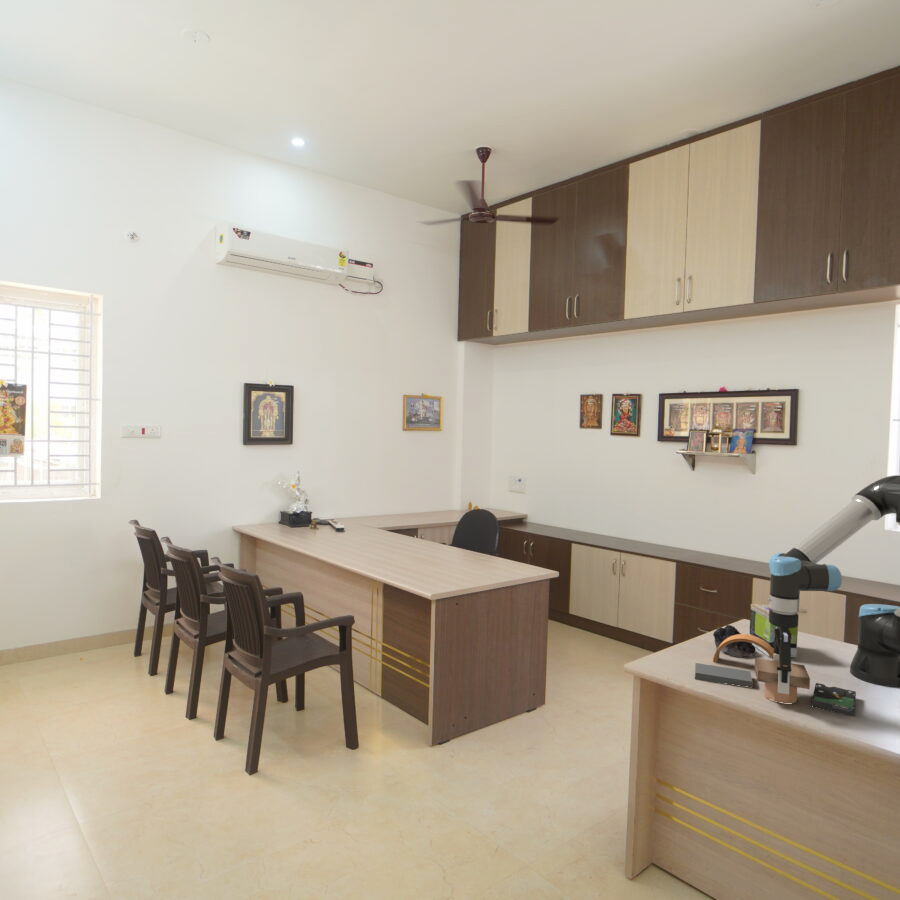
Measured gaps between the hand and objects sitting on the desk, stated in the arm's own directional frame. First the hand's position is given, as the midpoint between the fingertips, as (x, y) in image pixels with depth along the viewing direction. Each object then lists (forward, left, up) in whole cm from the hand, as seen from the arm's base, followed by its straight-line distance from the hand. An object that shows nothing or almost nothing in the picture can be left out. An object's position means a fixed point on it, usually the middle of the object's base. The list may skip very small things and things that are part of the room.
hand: (780, 684), depth 181 cm
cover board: (0, 0, +2) cm, 2 cm away
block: (+15, -9, -4) cm, 18 cm away
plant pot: (0, 0, -4) cm, 4 cm away
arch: (+7, -24, -4) cm, 25 cm away
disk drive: (-14, -4, -5) cm, 15 cm away
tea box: (-2, -45, -4) cm, 45 cm away
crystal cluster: (+11, -38, -4) cm, 40 cm away
